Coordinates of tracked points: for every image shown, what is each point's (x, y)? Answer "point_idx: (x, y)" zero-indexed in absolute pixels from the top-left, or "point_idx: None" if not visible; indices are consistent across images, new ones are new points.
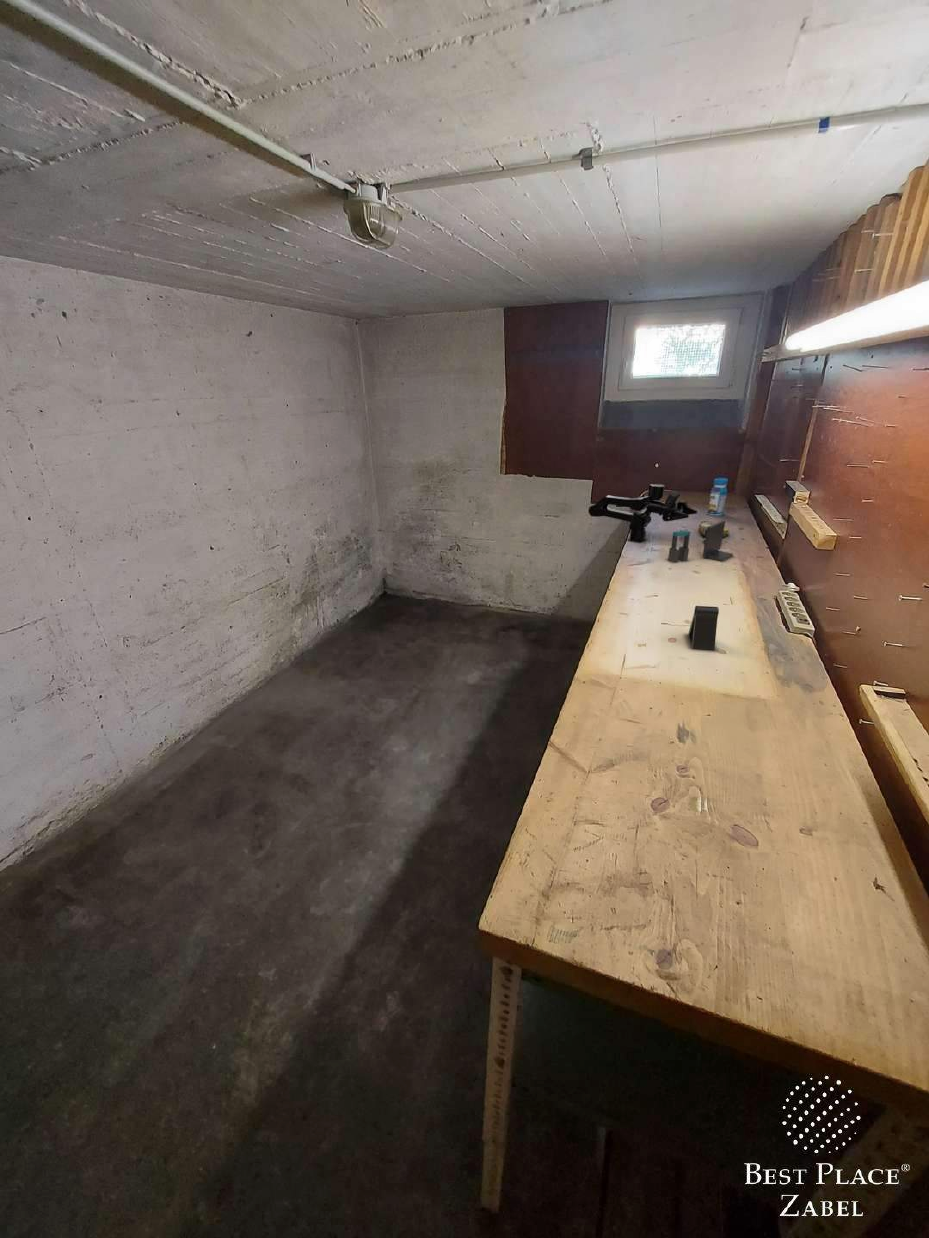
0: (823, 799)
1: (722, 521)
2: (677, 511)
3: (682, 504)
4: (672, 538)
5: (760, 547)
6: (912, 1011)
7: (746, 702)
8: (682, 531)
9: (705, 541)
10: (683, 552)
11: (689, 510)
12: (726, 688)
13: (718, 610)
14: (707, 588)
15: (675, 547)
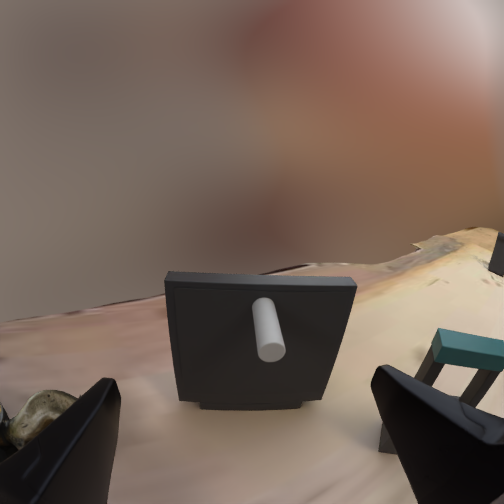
0: (480, 234)
1: (189, 275)
2: (491, 433)
3: None
4: (493, 381)
5: (71, 322)
6: (488, 228)
7: (487, 248)
8: (472, 344)
9: (337, 349)
10: None
11: (82, 472)
12: None
13: (498, 232)
14: (444, 308)
15: (463, 395)
